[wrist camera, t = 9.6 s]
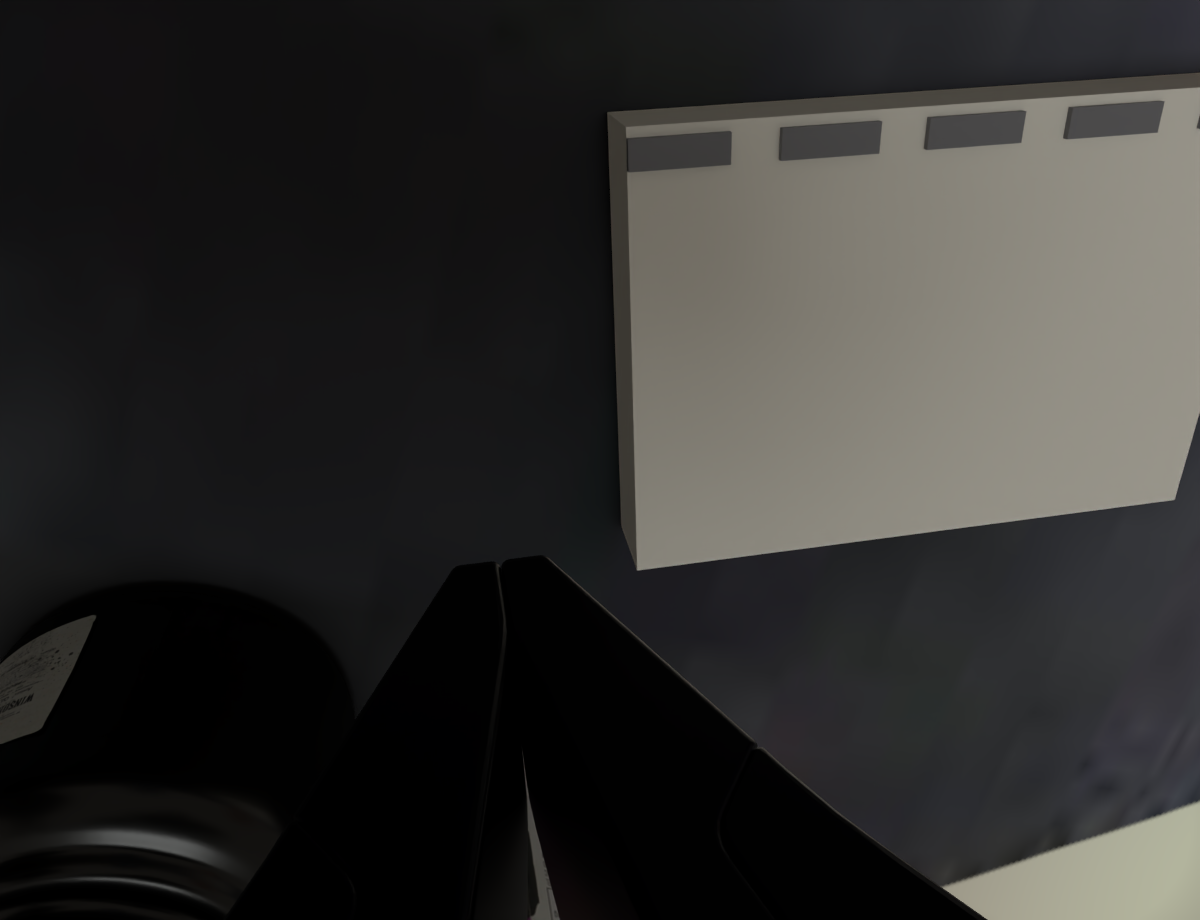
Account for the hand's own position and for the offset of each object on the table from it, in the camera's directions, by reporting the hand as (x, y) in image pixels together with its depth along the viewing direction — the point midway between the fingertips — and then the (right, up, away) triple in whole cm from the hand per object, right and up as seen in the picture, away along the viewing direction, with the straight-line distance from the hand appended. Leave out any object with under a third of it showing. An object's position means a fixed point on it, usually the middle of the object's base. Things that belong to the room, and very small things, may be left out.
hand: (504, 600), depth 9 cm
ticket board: (+8, +5, +14) cm, 17 cm away
